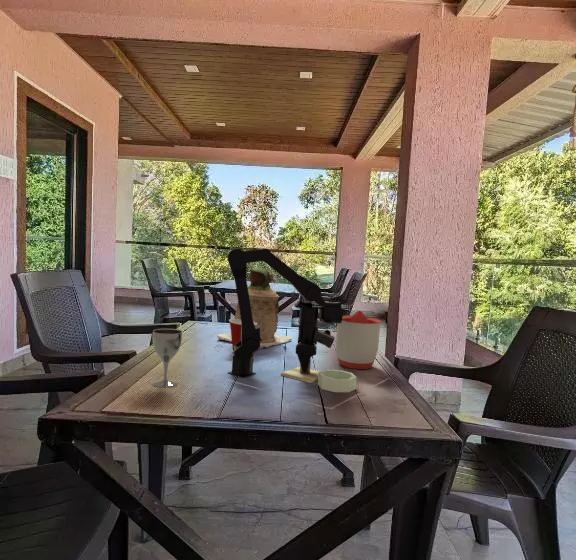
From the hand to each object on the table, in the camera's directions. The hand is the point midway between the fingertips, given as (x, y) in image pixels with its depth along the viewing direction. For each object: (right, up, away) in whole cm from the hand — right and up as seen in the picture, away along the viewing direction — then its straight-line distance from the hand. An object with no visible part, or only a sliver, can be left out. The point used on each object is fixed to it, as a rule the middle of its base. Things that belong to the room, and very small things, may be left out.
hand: (304, 370), depth 147 cm
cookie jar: (-20, +3, +52) cm, 55 cm away
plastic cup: (-23, +1, +29) cm, 37 cm away
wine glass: (-40, -1, -17) cm, 43 cm away
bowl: (+9, -3, -10) cm, 14 cm away
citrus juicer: (+19, -2, +20) cm, 28 cm away
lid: (0, -2, 0) cm, 2 cm away
